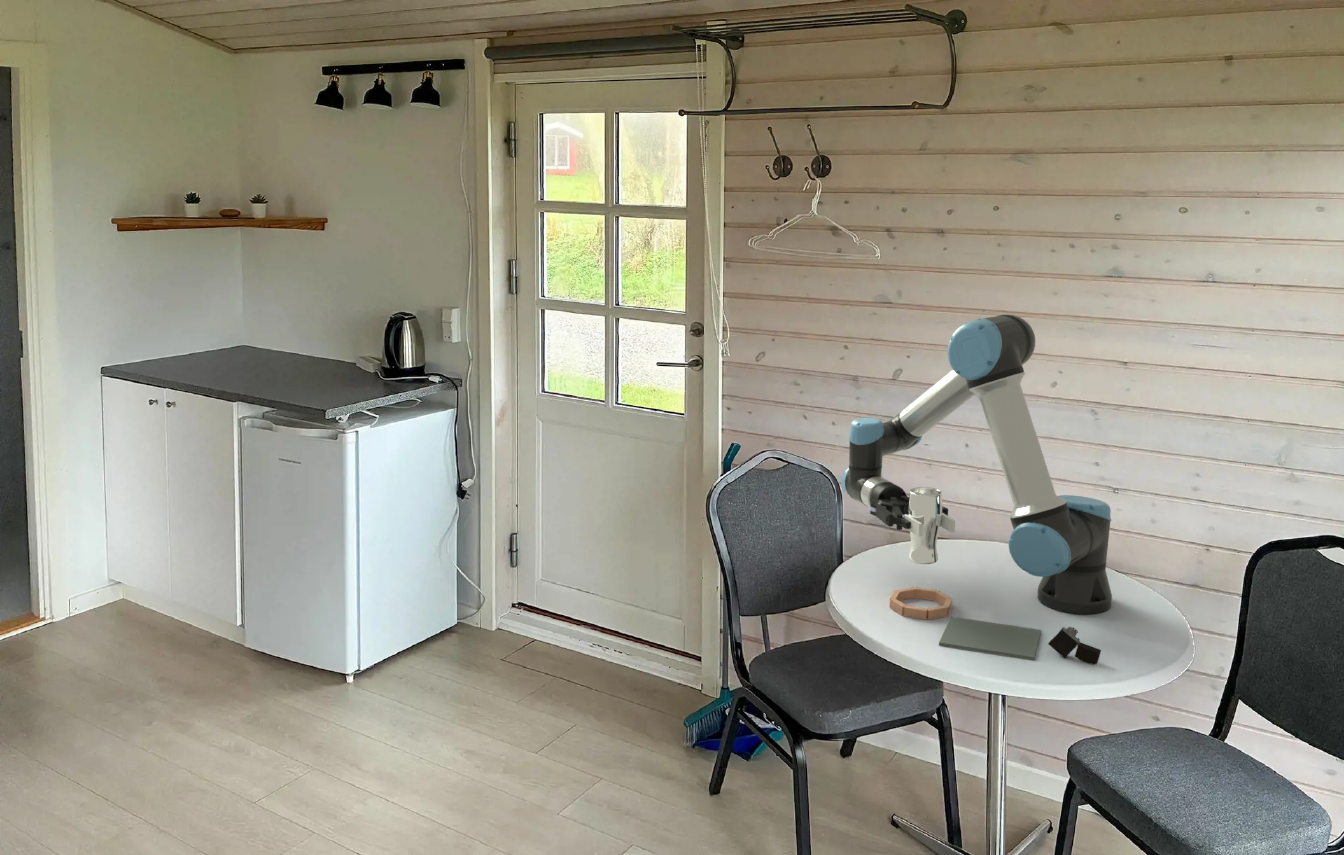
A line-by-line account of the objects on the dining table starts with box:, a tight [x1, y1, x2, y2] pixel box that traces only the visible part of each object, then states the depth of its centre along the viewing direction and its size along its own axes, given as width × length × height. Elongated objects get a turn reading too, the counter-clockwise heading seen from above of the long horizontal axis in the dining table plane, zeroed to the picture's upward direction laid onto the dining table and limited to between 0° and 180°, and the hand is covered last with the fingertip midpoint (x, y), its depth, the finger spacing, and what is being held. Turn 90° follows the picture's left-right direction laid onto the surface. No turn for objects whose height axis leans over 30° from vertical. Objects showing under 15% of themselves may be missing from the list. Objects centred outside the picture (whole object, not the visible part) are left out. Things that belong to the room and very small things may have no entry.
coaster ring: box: [889, 586, 953, 621], centre depth 245 cm, size 12×12×2 cm
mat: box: [938, 616, 1042, 661], centre depth 229 cm, size 18×14×1 cm
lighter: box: [1047, 626, 1102, 665], centre depth 220 cm, size 9×2×6 cm
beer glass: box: [908, 486, 943, 565], centre depth 241 cm, size 7×7×15 cm
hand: (936, 528), depth 236 cm, fingers closed on beer glass, 7 cm apart
